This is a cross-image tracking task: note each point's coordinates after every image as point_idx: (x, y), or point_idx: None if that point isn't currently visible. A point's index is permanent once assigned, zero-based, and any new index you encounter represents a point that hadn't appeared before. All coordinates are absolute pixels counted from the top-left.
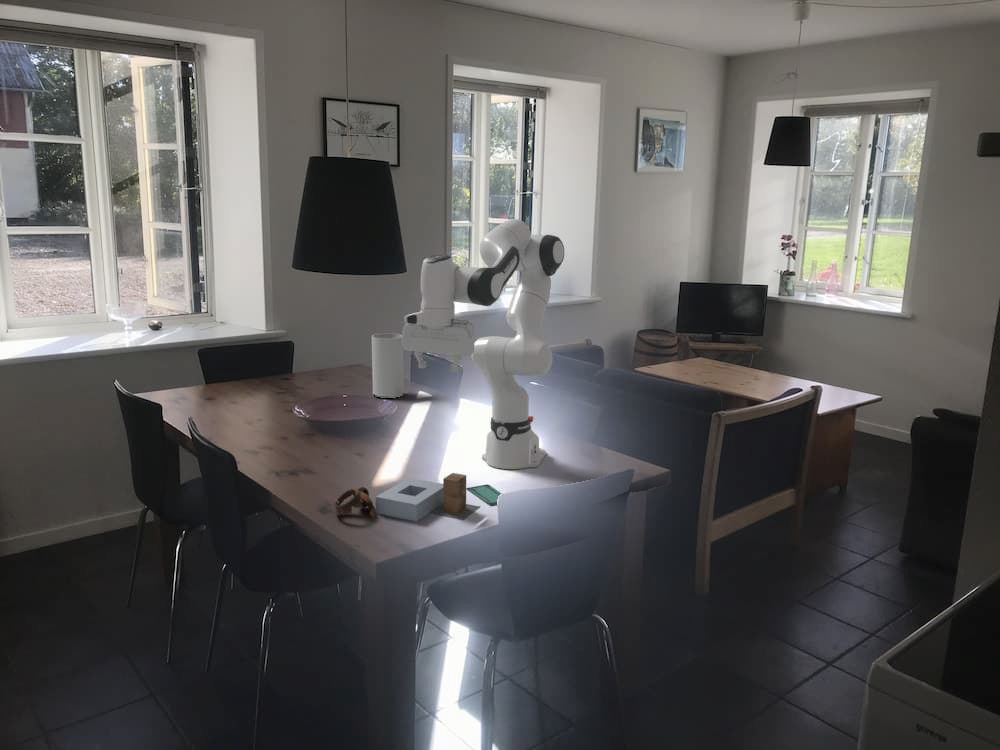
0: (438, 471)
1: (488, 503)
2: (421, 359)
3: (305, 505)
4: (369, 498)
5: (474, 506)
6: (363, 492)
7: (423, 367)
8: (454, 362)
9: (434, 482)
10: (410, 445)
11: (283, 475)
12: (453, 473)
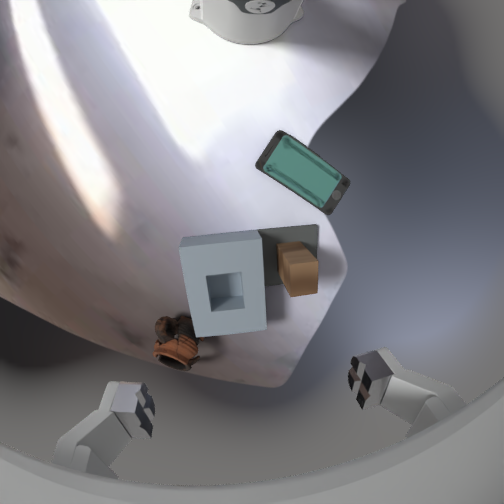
0: (153, 111)
1: (321, 207)
2: (114, 434)
3: (104, 337)
4: (191, 342)
5: (308, 229)
6: (172, 338)
7: (154, 408)
8: (402, 414)
9: (234, 241)
10: (49, 52)
11: (11, 274)
12: (293, 266)
